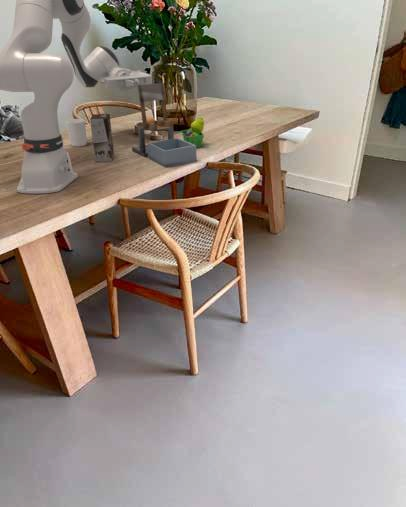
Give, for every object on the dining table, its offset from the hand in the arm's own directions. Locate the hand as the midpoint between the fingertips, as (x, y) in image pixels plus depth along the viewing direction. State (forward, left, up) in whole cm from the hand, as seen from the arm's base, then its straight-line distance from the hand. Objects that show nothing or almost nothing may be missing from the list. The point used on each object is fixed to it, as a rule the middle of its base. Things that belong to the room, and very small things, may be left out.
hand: (136, 83), depth 172 cm
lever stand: (-11, -7, -25) cm, 28 cm away
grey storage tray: (-23, -14, -25) cm, 37 cm away
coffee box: (-20, +12, -25) cm, 34 cm away
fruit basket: (-2, -23, -25) cm, 34 cm away
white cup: (+1, +27, -25) cm, 37 cm away
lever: (-13, -8, -15) cm, 21 cm away
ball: (-9, -5, -13) cm, 17 cm away
